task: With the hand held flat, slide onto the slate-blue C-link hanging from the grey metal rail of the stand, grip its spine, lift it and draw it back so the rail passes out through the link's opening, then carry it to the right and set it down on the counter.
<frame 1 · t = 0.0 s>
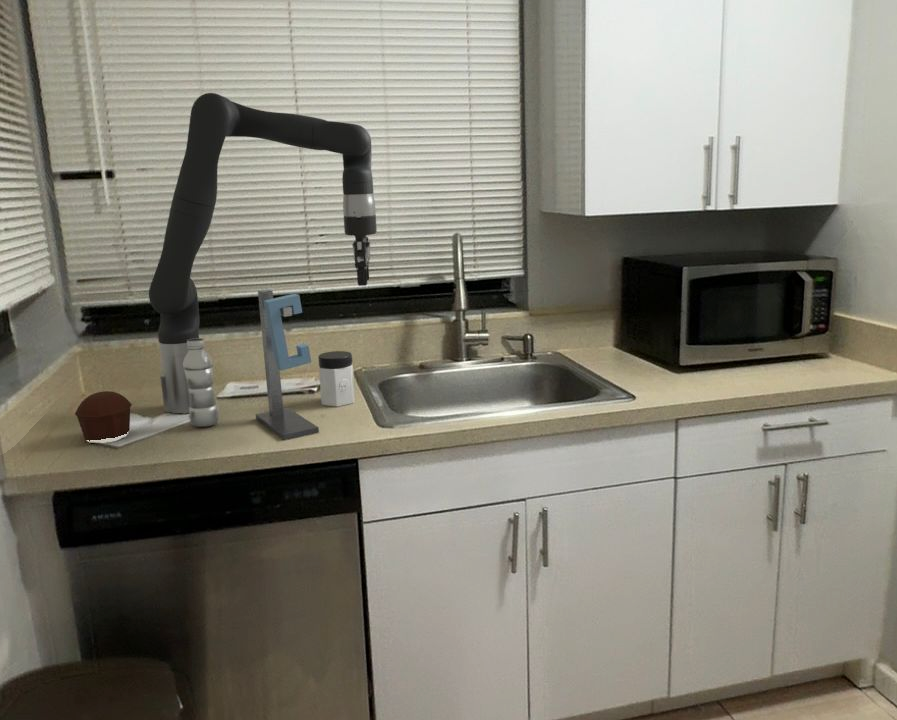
hand: (363, 282, 181), 29 cm above the worktop, tool pointing down, fingers open, 8 cm apart
muffin: (108, 438, 167), on the worktop
stand: (294, 431, 166), on the worktop
plastic bottle: (205, 426, 173), on the worktop
jar: (338, 402, 188), on the worktop
c link: (294, 365, 164), point 15 cm above the worktop, tilted 6°, touching stand
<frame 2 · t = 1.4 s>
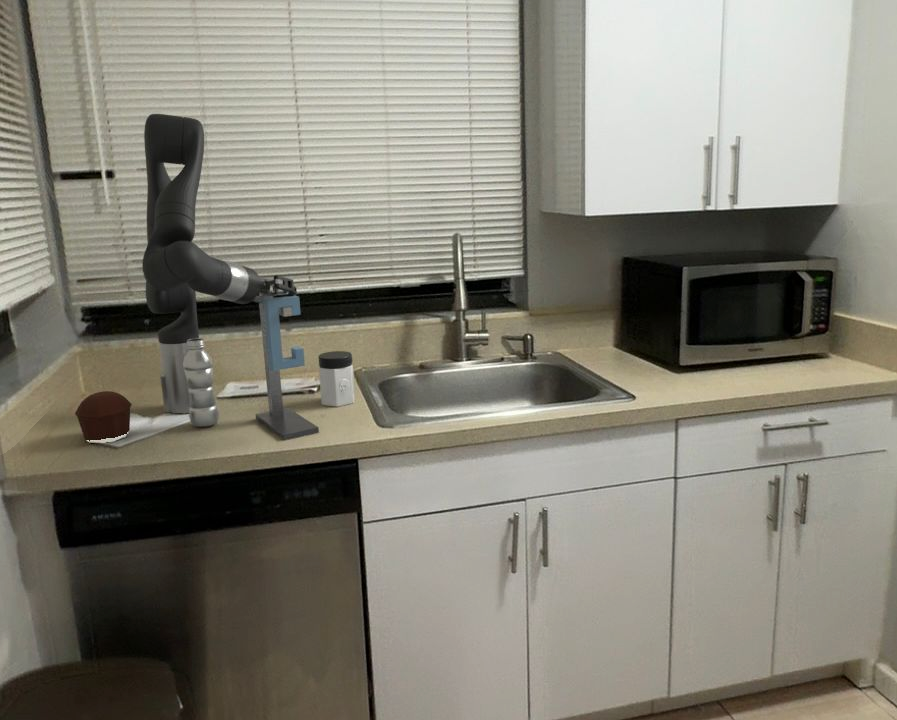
hand: (278, 295, 164), 30 cm above the worktop, tool tilted 70°, fingers open, 8 cm apart
c link: (287, 367, 163), point 15 cm above the worktop, touching gripper
everything else where it was.
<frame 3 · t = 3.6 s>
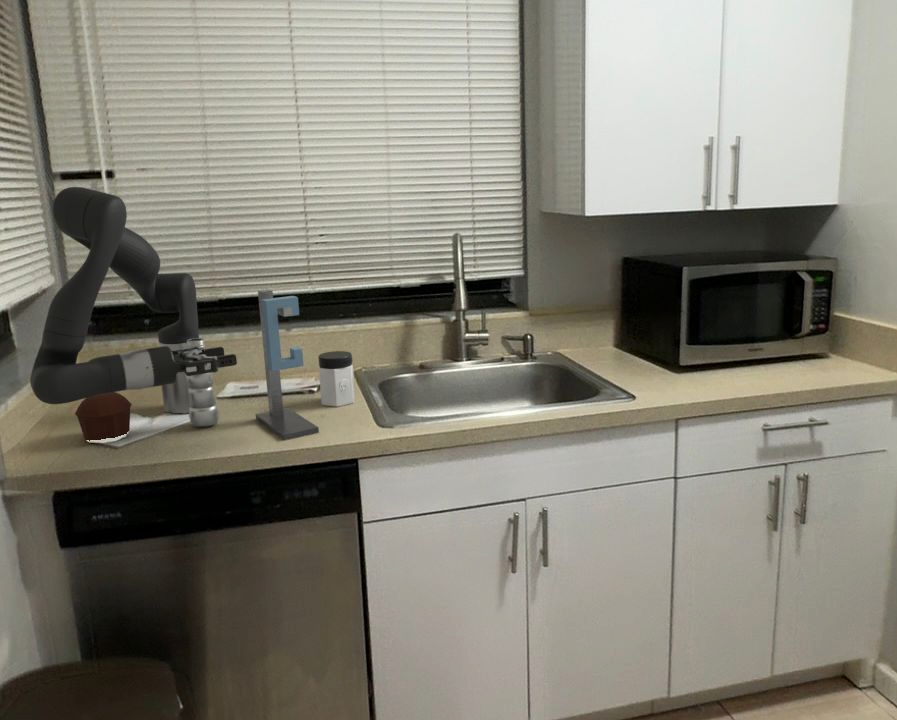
hand: (229, 355, 155), 19 cm above the worktop, tool horizontal, fingers open, 8 cm apart
c link: (285, 367, 162), point 15 cm above the worktop, touching stand
everything else where it was.
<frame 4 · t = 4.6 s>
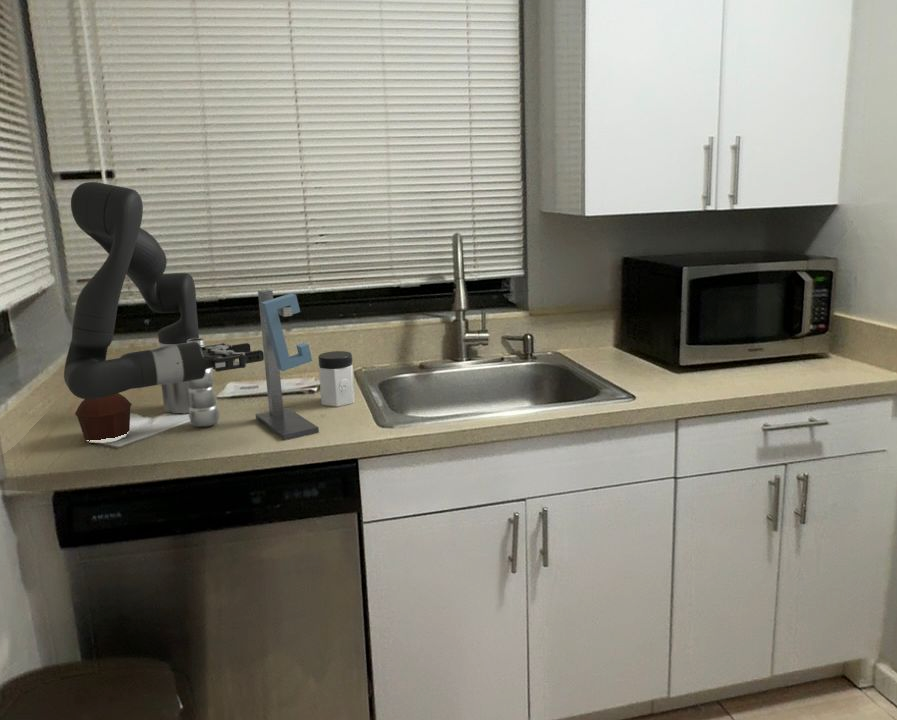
hand: (256, 351, 158), 19 cm above the worktop, tool horizontal, fingers open, 8 cm apart
c link: (295, 364, 164), point 15 cm above the worktop, tilted 10°, touching stand
everything else where it was.
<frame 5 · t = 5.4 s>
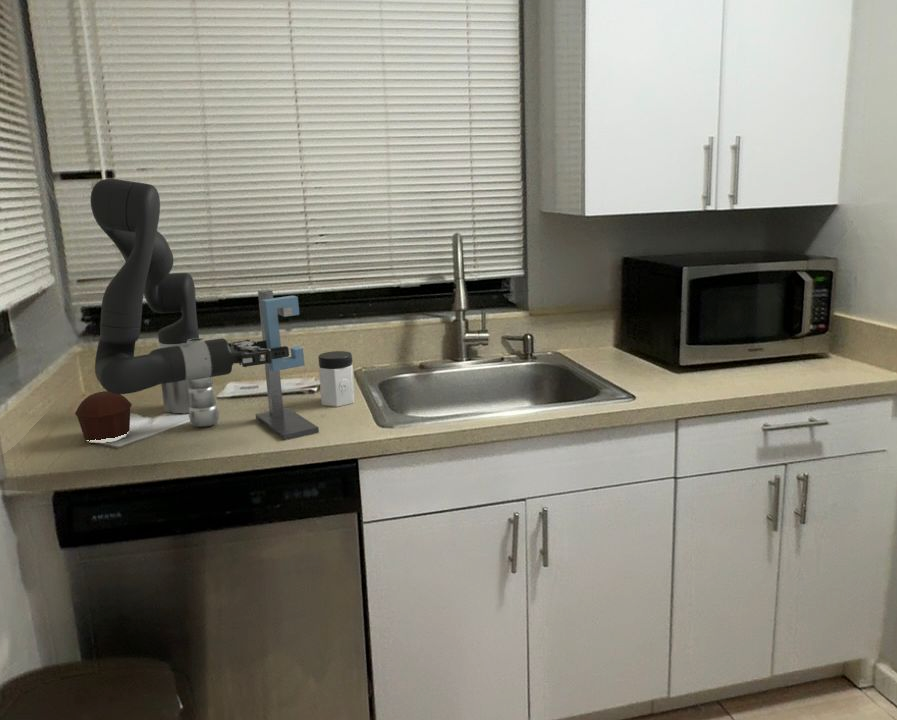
hand: (280, 347, 161), 19 cm above the worktop, tool horizontal, fingers open, 8 cm apart
c link: (287, 367, 163), point 15 cm above the worktop, touching stand
everything else where it was.
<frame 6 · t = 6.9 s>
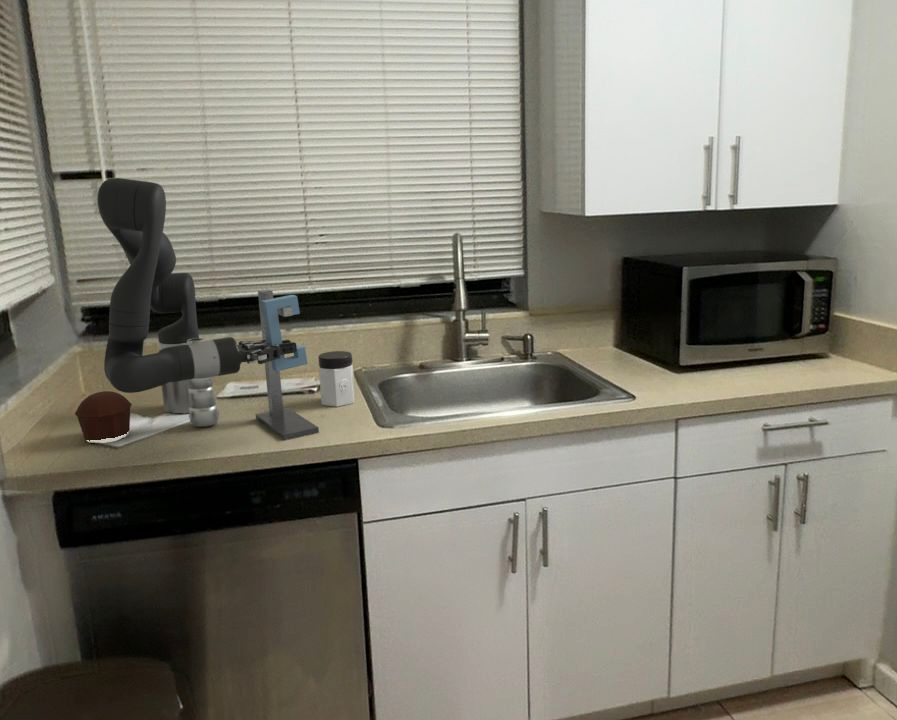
hand: (292, 345, 162), 19 cm above the worktop, tool horizontal, fingers closed on c link, 2 cm apart
c link: (290, 366, 163), point 15 cm above the worktop, touching gripper
everything else where it was.
when the fingers open (6 cm above the worktop, at t = 16.5 s): c link drops 1 cm, on the worktop.
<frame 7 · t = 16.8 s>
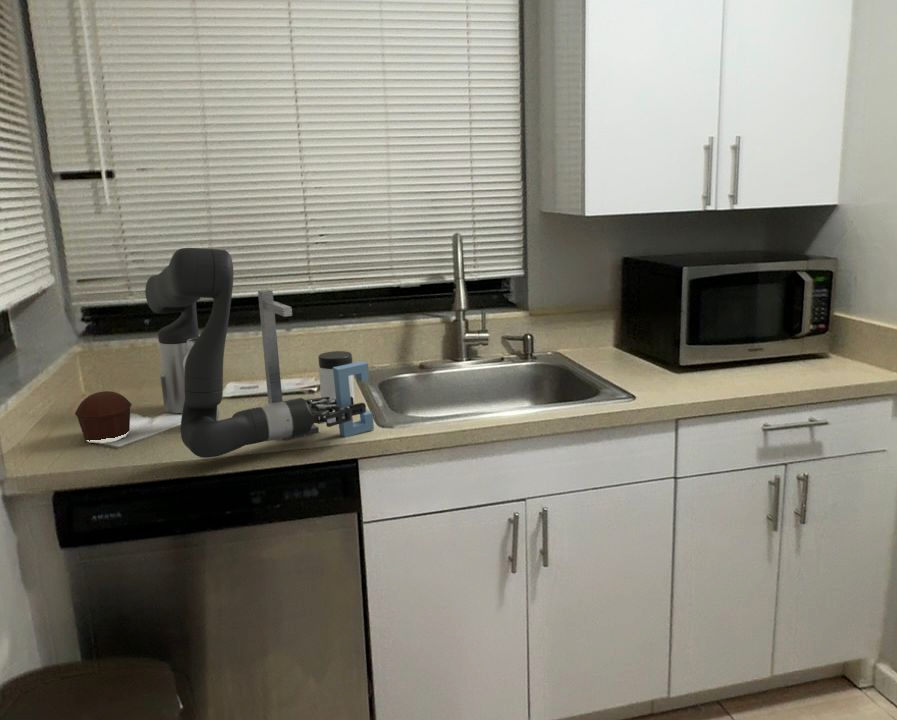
hand: (358, 404, 164), 6 cm above the worktop, tool horizontal, fingers open, 5 cm apart
c link: (356, 431, 165), on the worktop
everything else where it was.
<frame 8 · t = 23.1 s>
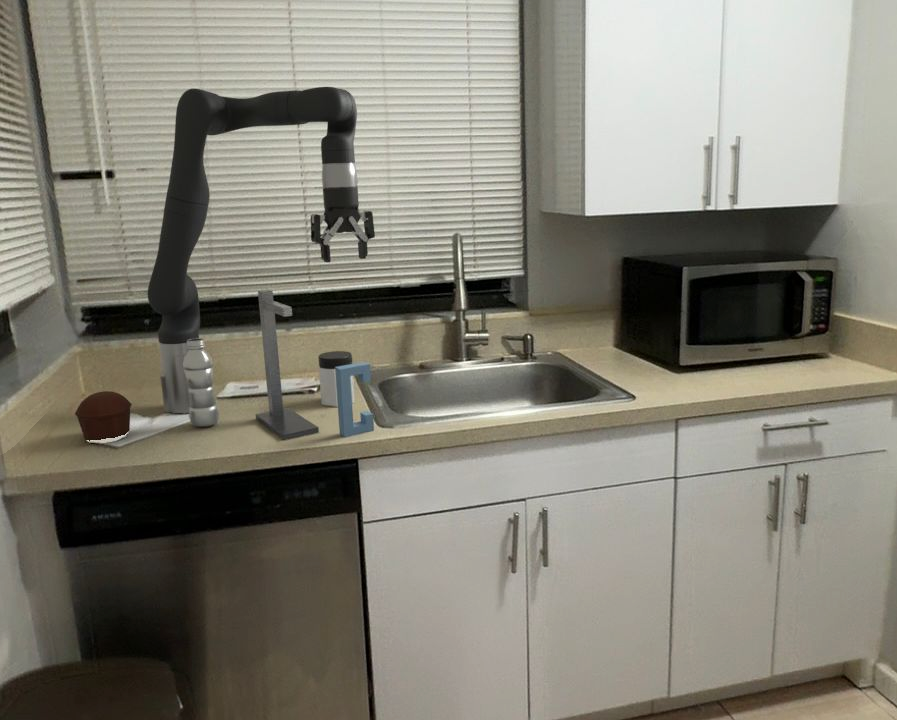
hand: (345, 260, 167), 36 cm above the worktop, tool pointing down, fingers open, 8 cm apart
nothing on the worktop moved.
at the end: c link inside the target area (0.9 cm from its centre), on the worktop; c link moved 20.1 cm from its start; the gripper is holding nothing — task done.
